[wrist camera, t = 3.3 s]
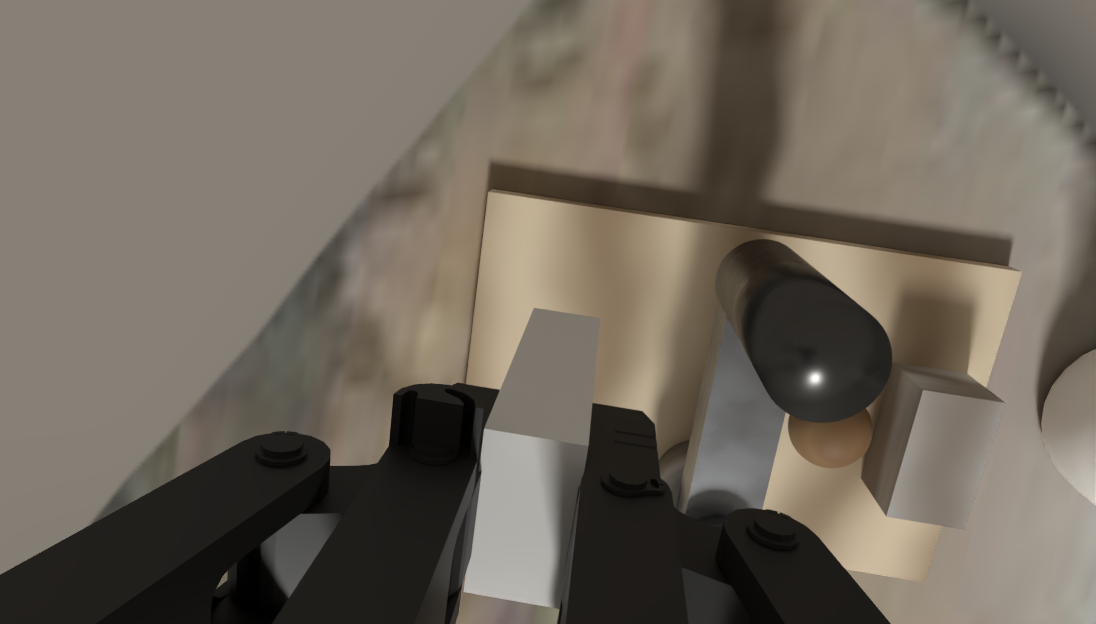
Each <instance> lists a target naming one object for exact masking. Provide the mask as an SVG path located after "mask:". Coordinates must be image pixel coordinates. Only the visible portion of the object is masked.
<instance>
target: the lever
mask: <svg viewBox="0 0 1096 624" xmlns="http://www.w3.org/2000/svg"><path fill="white" fill-rule="evenodd" d="M715 289H716V295H717V298H718V300H719V301H718V306H717V311H716V315H715V320H714V325H713V330H712V335H711V340H710V344H709V349H708V354H707V359H706V364H705V369H704V374H703V378H702V383H701V388H700V393H699V398H698V403H697V407H696V412H695V417H694V422H693V427H692V432H691V437H690V441H689V446H688V451H687V456H686V461H685V466H684V470H683V475H682V480H681V485H680V490H679V495H678V500H677V504H676V509H677V510H678V511H680V512H682V513H683V514H685V515H687V516H689V517H690V518H693V519H695V520H698V521H700V522H702V523H705V524H708V525H711V526H714V527H716V528H719V529H722V526H723V522H724V520H725V518H726V516H727V514H729V513H731V512H733V511H735V510H737V509H747V508H756V509H763V505H764V501H765V497H766V493H767V488H768V484H769V480H770V476H771V472H772V468H773V463H774V459H775V455H776V451H777V447H778V443H779V439H780V434H781V430H782V426H783V422H784V418H785V414H786V413H788V414H790V415H791V416H793V417H796V418H798V419H801V420H805V421H809V422H817V423H828V422H836V421H840V420H844V419H846V418H849V417H852V416H854V415H856V414H858V413H859V412H861V411H863V410H864V409H865V408H867V407H868V406H869V405H870V404H871V403H873V402H874V401H875V399H876V398H877V397H878V396H879V395H880V393H881V392H882V390H883V389H884V387H885V385H886V383H887V381H888V379H889V376H890V373H891V368H892V348H891V344H890V340H889V338H888V335H887V333H886V332H885V330H884V328H883V327H882V325H881V324H880V323H879V322H878V320H877V319H875V318H874V317H873V316H872V315H871V314H870V313H869V312H867V311H866V310H865V309H864V308H863V307H861V306H860V305H859V304H858V303H857V302H855V301H854V300H853V299H852V298H850V297H849V296H848V295H847V294H846V293H844V292H843V291H842V290H841V289H839V288H838V287H837V286H836V285H835V284H833V283H832V282H831V281H830V280H828V279H827V278H826V277H825V276H824V275H822V274H821V273H820V272H819V271H818V270H816V269H815V268H814V267H813V266H811V265H810V264H809V263H808V262H807V261H805V260H804V259H803V258H802V257H800V256H799V255H798V254H797V253H796V252H794V251H793V250H792V249H791V248H789V247H788V246H786V245H785V244H783V243H780V242H778V241H774V240H770V239H756V240H751V241H748V242H745V243H743V244H740V245H739V246H737V247H735V248H734V249H733V250H732V251H730V252H729V253H728V254H727V255H726V257H725V258H724V259H723V261H722V262H721V264H720V266H719V268H718V271H717V274H716V280H715Z"/></svg>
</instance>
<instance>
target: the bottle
mask: <svg viewBox="0 0 1096 624" xmlns="http://www.w3.org/2000/svg"><path fill="white" fill-rule="evenodd" d="M1041 428H1042V435H1043V442H1044V446H1045V448H1046V450H1047V452H1048V454H1049V456H1050V458H1051V460H1052V462H1053V463H1054V464H1055V466H1056V467H1057V469H1058V470H1059V472H1060V473H1061V474H1062V475H1063V476H1064V477H1065V478H1066V479H1067V481H1068V482H1069V483H1070V484H1071V485H1072V486H1073V487H1074V488H1075V489H1076V490H1078V491H1079V492H1080V493H1081V494H1082V495H1084V496H1085V497H1086V498H1087V499H1088V500H1090V501H1091V502H1092V503H1093V504H1094V505H1096V349H1094V350H1092V351H1090V352H1088V353H1086V354H1084V355H1082V356H1081V357H1079V358H1078V359H1077V360H1076V361H1074V362H1073V363H1072V364H1071V365H1069V366H1068V367H1067V368H1065V370H1064V371H1063V372H1062V373H1061V375H1060V376H1059V377H1058V378H1057V380H1056V381H1055V382H1054V383H1053V385H1052V387H1051V389H1050V391H1049V393H1048V396H1047V398H1046V400H1045V402H1044V408H1043V414H1042V421H1041Z"/></svg>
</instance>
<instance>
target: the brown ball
mask: <svg viewBox="0 0 1096 624" xmlns="http://www.w3.org/2000/svg"><path fill="white" fill-rule="evenodd" d="M788 433H789V437H790V440H791V442H792V445H793V446H794V448H795V449H796V451H797V452H798V453H799V454H800V455H801V456H802V457H803V458H804V459H806V460H807V461H809V462H810V463H812V464H814V465H817V466H820V467H824V468H841V467H845V466H848V465H850V464H852V463H854V462H856V461H857V460H859V459H860V458H861V457H862V456H863V455H864V454H865V452H866V451H867V449H868V447H869V445H870V443H871V440H872V434H873V426H872V421H871V417H870V414H869V412H868V411H867V409H866V408H865V409H864V410H863V411H861V412H859V413H858V414H856V415H854V416H852V417H849V418H846V419H844V420H840V421H836V422H828V423H817V422H809V421H805V420H801V419H798V418H796V417H793V416H791V415H789V419H788Z"/></svg>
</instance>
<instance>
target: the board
mask: <svg viewBox="0 0 1096 624" xmlns="http://www.w3.org/2000/svg"><path fill="white" fill-rule="evenodd" d="M756 239H770V240H774V241H778V242H780V243H783V244H785V245H786V246H788V247H789V248H791V249H792V250H793V251H794V252H796V253H797V254H798V255H799V256H800V257H802V258H803V259H804V260H805V261H807V262H808V263H809V264H810V265H811V266H813V267H814V268H815V269H816V270H818V271H819V272H820V273H821V274H822V275H824V276H825V277H826V278H827V279H828V280H830V281H831V282H832V283H833V284H835V285H836V286H837V287H838V288H839V289H841V290H842V291H843V292H844V293H846V294H847V295H848V296H849V297H850V298H852V299H853V300H854V301H855V302H857V303H858V304H859V305H860V306H861V307H863V308H864V309H865V310H866V311H867V312H869V313H870V314H871V315H872V316H873V317H874V318H875V319H877V320H878V322H879V323H880V324H881V325H882V327H883V328H884V330H885V332H886V333H887V335H888V338H889V340H890V344H891V348H892V368H891V373H890V376H889V379H888V381H887V383H886V385H885V387H884V389H883V390H882V392H881V393H880V395H879V396H878V397H877V398H876V399H875V401H874V402H873V403H871V404H870V405H869V406H868V407H867V408H866V409H867V411H868V412H869V414H870V417H871V421H872V426H873V434H872V440H871V443H870V445H869V447H868V449H867V451H866V452H865V454H864V455H863V456H862V457H861V458H860V459H859V460H857V461H856V462H854V463H852V464H850V465H848V466H845V467H841V468H824V467H820V466H817V465H814V464H812V463H810V462H809V461H807V460H806V459H804V458H803V457H802V456H801V455H800V454H799V453H798V452H797V451H796V449H795V448H794V446H793V445H792V442H791V440H790V437H789V433H788V419H789V415H790V414H788V413H786V414H785V418H784V422H783V426H782V430H781V434H780V439H779V443H778V447H777V451H776V455H775V459H774V463H773V468H772V472H771V476H770V480H769V484H768V488H767V493H766V497H765V501H764V505H763V510H765V509H770V510H774V511H778V513H780V512H781V513H784V514H786V515H789V516H790V517H792V518H793V519H794V520H796V521H798V522H800V523H802V524H804V525H805V526H807V527H808V528H809V529H810V530H811V531H812V532H814V533H815V534H816V535H817V536H818V537H819V538H820V539H821V541H822V542H823V543H824V544H825V545H826V547H827V548H828V549H829V550H830V551H831V553H832V554H833V555H834V556H835V557H836V559H837V560H838V561H839V562H840V563H841V565H842V566H843V567H844V568H845V569H848V570H854V571H860V572H866V573H872V574H877V575H883V576H889V577H895V578H901V579H907V580H913V581H919V582H925V580H926V577H927V574H928V570H929V567H930V564H931V561H932V558H933V555H934V551H935V548H936V545H937V542H938V539H939V535H940V532H941V529H942V526H945V527H951V528H957V529H964V530H965V527H966V524H967V521H968V518H969V515H970V512H971V509H972V505H973V502H974V499H975V496H976V493H977V490H978V487H979V484H980V481H981V478H982V475H983V472H984V468H985V465H986V462H987V459H988V456H989V453H990V450H991V447H992V444H993V441H994V438H995V434H996V431H997V428H998V425H999V422H1000V419H1001V416H1002V413H1003V410H1004V407H1005V404H1006V403H1005V402H1004V401H1002V400H1001V399H1000V398H998V397H997V396H996V395H995V394H993V393H992V392H991V391H989V390H988V389H987V388H986V386H987V383H988V380H989V377H990V373H991V370H992V367H993V364H994V361H995V357H996V354H997V351H998V348H999V345H1000V342H1001V338H1002V335H1003V332H1004V329H1005V326H1006V323H1007V319H1008V316H1009V313H1010V310H1011V307H1012V303H1013V300H1014V297H1015V294H1016V291H1017V288H1018V284H1019V281H1020V278H1021V275H1022V272H1021V271H1019V270H1017V269H1014V268H1012V267H1009V266H1003V265H996V264H990V263H983V262H976V261H970V260H963V259H956V258H950V257H943V256H936V255H930V254H923V253H916V252H910V251H903V250H896V249H890V248H883V247H876V246H870V245H863V244H856V243H850V242H843V241H836V240H830V239H823V238H816V237H810V236H803V235H796V234H790V233H783V232H776V231H770V230H763V229H756V228H750V227H743V226H736V225H730V224H723V223H716V222H710V221H703V220H696V219H690V218H683V217H676V216H670V215H663V214H656V213H650V212H643V211H636V210H630V209H623V208H616V207H610V206H603V205H597V204H590V203H583V202H577V201H570V200H563V199H557V198H550V197H543V196H537V195H530V194H523V193H517V192H510V191H503V190H497V189H491V190H490V191H489V192H488V198H487V207H486V215H485V224H484V232H483V241H482V250H481V258H480V267H479V275H478V284H477V292H476V301H475V309H474V318H473V326H472V335H471V344H470V352H469V361H468V369H467V378H466V384H468V385H474V386H480V387H486V388H493V389H499V390H500V389H501V386H502V384H503V382H504V379H505V377H506V374H507V372H508V369H509V367H510V365H511V362H512V360H513V357H514V355H515V352H516V350H517V348H518V345H519V343H520V340H521V338H522V335H523V333H524V331H525V328H526V326H527V323H528V321H529V318H530V316H531V314H532V311H533V309H534V308H539V309H546V310H552V311H558V312H564V313H571V314H577V315H583V316H590V317H596V318H600V325H599V336H598V347H597V358H596V369H595V380H594V391H593V402H592V403H597V404H603V405H609V406H615V407H621V408H627V409H633V410H639V411H643V412H644V413H645V414H646V415H647V416H648V417H649V418H650V420H651V421H652V422H653V423H654V424H655V431H656V440H657V450H658V459H659V469H660V478H661V479H662V480H664V481H665V482H666V483H667V484H668V486H669V488H670V490H671V492H672V496H673V504H674V507H675V508H676V504H677V500H678V495H679V490H680V485H681V480H682V475H683V470H684V466H685V461H686V456H687V451H688V446H689V441H690V437H691V432H692V427H693V422H694V417H695V412H696V407H697V403H698V398H699V393H700V388H701V383H702V378H703V374H704V369H705V364H706V359H707V354H708V349H709V344H710V340H711V335H712V330H713V325H714V320H715V315H716V311H717V306H718V301H719V300H718V298H717V295H716V289H715V280H716V274H717V271H718V268H719V266H720V264H721V262H722V261H723V259H724V258H725V257H726V255H727V254H728V253H729V252H730V251H732V250H733V249H734V248H735V247H737V246H739V245H740V244H743V243H745V242H748V241H751V240H756Z"/></svg>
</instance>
